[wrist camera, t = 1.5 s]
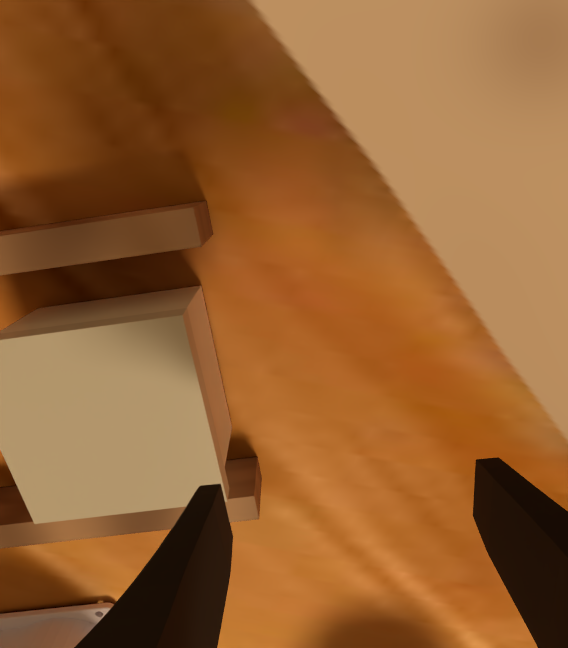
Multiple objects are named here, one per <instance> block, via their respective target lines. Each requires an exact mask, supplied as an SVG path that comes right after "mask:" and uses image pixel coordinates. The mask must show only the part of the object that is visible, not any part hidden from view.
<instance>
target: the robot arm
mask: <svg viewBox="0 0 568 648" xmlns="http://www.w3.org/2000/svg"><path fill="white" fill-rule="evenodd" d="M473 517H474V520H475V522H476V525H477V527H478V530H479V533H480V535H481V538H482V540H483V543H484V545H485V547H486V550H487V552H488V554H489V556H490V558H491V560H492V562H493V564H494V566H495V568H496V570H497V571H498V573H499V575H500V577H501V579H502V581H503V583H504V585H505V586H506V588H507V590H508V592H509V594H510V596H511V598H512V599H513V601H514V603H515V605H516V607H517V609H518V611H519V613H520V614H521V616H522V618H523V620H524V622H525V624H526V626H527V627H528V629H529V631H530V633H531V635H532V637H533V639H534V640H535V642H536V644H537V647H538V648H568V511H566V510H565V509H564V508H562V507H561V506H560V505H558V504H557V503H556V502H554V501H553V500H552V499H550V498H549V497H548V496H547V495H545V494H544V493H543V492H541V491H540V490H539V489H538V488H536V487H535V486H534V485H532V484H531V483H530V482H529V481H527V480H526V479H525V478H524V477H522V476H521V475H520V474H519V473H517V472H516V471H515V470H514V469H512V468H511V467H510V466H509V465H507V464H506V463H505V462H503V461H502V460H501V459H500V458H488V459H477V460H476V467H475V486H474V505H473ZM232 542H233V535H232V531H231V526H230V522H229V517H228V513H227V509H226V504H225V500H224V495H223V491H222V487H221V484H212V485H201V486H199V487H198V489H197V490H196V492H195V493H194V495H193V496H192V498H191V500H190V501H189V503H188V504H187V506H186V508H185V509H184V511H183V512H182V514H181V516H180V517H179V519H178V520H177V522H176V523H175V525H174V526H173V528H172V529H171V531H170V532H169V534H168V535H167V536H166V538H165V539H164V541H163V542H162V544H161V545H160V547H159V548H158V550H157V551H156V552H155V554H154V555H153V556H152V558H151V559H150V560H149V562H148V563H147V564H146V566H145V567H144V568H143V570H142V571H141V572H140V574H139V575H138V576H137V578H136V579H135V580H134V581H133V583H132V584H131V585H130V586H129V588H128V589H127V590H126V591H125V593H124V594H123V595H122V596H121V597H120V598H119V600H118V601H117V602H116V603H115V604H112V603H98V604H89V605H79V606H70V607H60V608H51V609H41V610H32V611H23V612H13V613H4V614H0V648H217V645H218V640H219V634H220V629H221V623H222V618H223V612H224V607H225V601H226V596H227V590H228V584H229V578H230V571H231V558H232Z"/></svg>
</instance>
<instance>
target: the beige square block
mask: <svg viewBox="0 0 568 648" xmlns="http://www.w3.org/2000/svg"><path fill="white" fill-rule="evenodd" d="M231 431H232V425H231V420H230V416H229V411H228V406H227V402H226V397H225V393H224V388H223V384H222V379H221V374H220V370H219V365H218V361H217V356H216V351H215V347H214V342H213V338H212V333H211V329H210V324H209V319H208V315H207V310H206V306H205V301H204V297H203V292H202V287H201V286H194V287H187V288H180V289H172V290H165V291H158V292H151V293H144V294H137V295H129V296H122V297H115V298H108V299H101V300H93V301H86V302H79V303H72V304H65V305H58V306H50V307H43V308H38V309H36V310H34V311H33V312H31V313H29V314H28V315H26V316H24V317H23V318H21V319H19V320H18V321H16V322H14V323H13V324H11V325H9V326H8V327H6V328H4V329H3V330H1V331H0V450H1V452H2V454H3V456H4V459H5V461H6V463H7V465H8V467H9V470H10V472H11V474H12V476H13V478H14V480H15V483H16V485H17V487H18V489H19V491H20V494H21V496H22V498H23V500H24V502H25V504H26V507H27V509H28V511H29V513H30V515H31V518H32V520H33V522H34V524H39V523H48V522H56V521H65V520H74V519H82V518H91V517H100V516H108V515H117V514H126V513H134V512H143V511H151V510H160V509H169V508H177V507H186V506H187V504H188V503H189V501H190V500H191V498H192V496H193V495H194V493H195V492H196V490H197V489H198V487H199V486H201V485H212V484H221V487H222V491H223V495H224V500H225V502H227V501H228V495H229V484H228V480H227V476H226V471H225V463H226V457H227V452H228V447H229V441H230V436H231Z"/></svg>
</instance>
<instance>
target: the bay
mask: <svg viewBox="0 0 568 648" xmlns="http://www.w3.org/2000/svg"><path fill="white" fill-rule="evenodd" d="M212 235H213V232H212V226H211V221H210V216H209V211H208V206H207V201H200V202H193V203H187V204H180V205H173V206H166V207H160V208H153V209H146V210H140V211H133V212H126V213H119V214H113V215H106V216H99V217H92V218H86V219H79V220H72V221H65V222H59V223H52V224H45V225H38V226H32V227H25V228H18V229H11V230H5V231H0V275H7V274H14V273H21V272H28V271H35V270H42V269H49V268H56V267H63V266H69V265H76V264H83V263H90V262H97V261H104V260H111V259H118V258H125V257H132V256H139V255H146V254H153V253H160V252H167V251H174V250H181V249H188V248H195V247H202V246H203V244H204V243H205V242H206V241H207V240H208V239H209V238H210V237H211V236H212ZM225 471H226V476H227V480H228V484H229V495H228V501H227V502H225V504H226V509H227V513H228V517H229V522H238V521H247V520H256V519H259V511H260V496H261V480H262V478H261V473H260V468H259V463H258V458H257V457H252V458H244V459H235V460H227V461H226V463H225ZM185 508H186V507H177V508H169V509H160V510H151V511H143V512H134V513H126V514H117V515H108V516H100V517H91V518H82V519H74V520H65V521H56V522H48V523H39V524H34V522H33V520H32V518H31V515H30V513H29V511H28V509H27V507H26V504H25V502H24V500H23V498H22V496H21V494H20V491H19V489H18V487H17V486H10V487H2V488H0V548H9V547H18V546H27V545H36V544H44V543H53V542H62V541H71V540H80V539H88V538H97V537H106V536H115V535H124V534H133V533H141V532H150V531H159V530H168V529H172V528H173V526H174V525H175V523H176V522H177V520H178V519H179V517H180V516H181V514H182V512H183V511H184V509H185Z"/></svg>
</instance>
